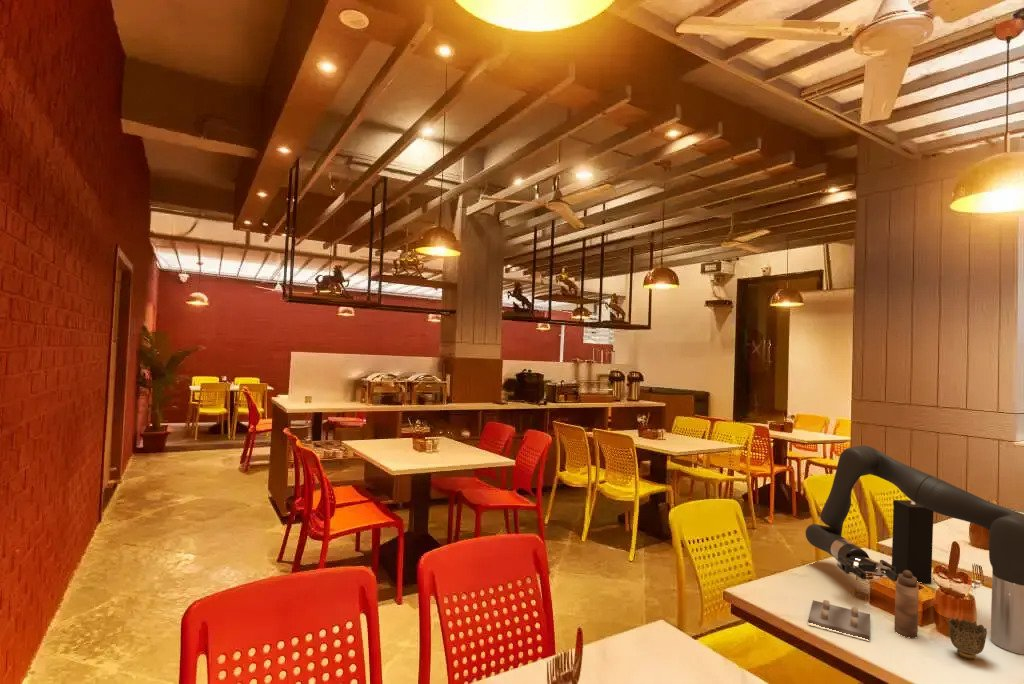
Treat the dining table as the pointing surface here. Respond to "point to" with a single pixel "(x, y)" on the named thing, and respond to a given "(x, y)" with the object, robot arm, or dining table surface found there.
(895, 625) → the pepper mill
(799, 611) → the dining table surface
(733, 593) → the dining table surface
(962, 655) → the cup
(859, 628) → the board
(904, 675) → the dining table surface
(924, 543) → the tissue box
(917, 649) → the dining table surface
